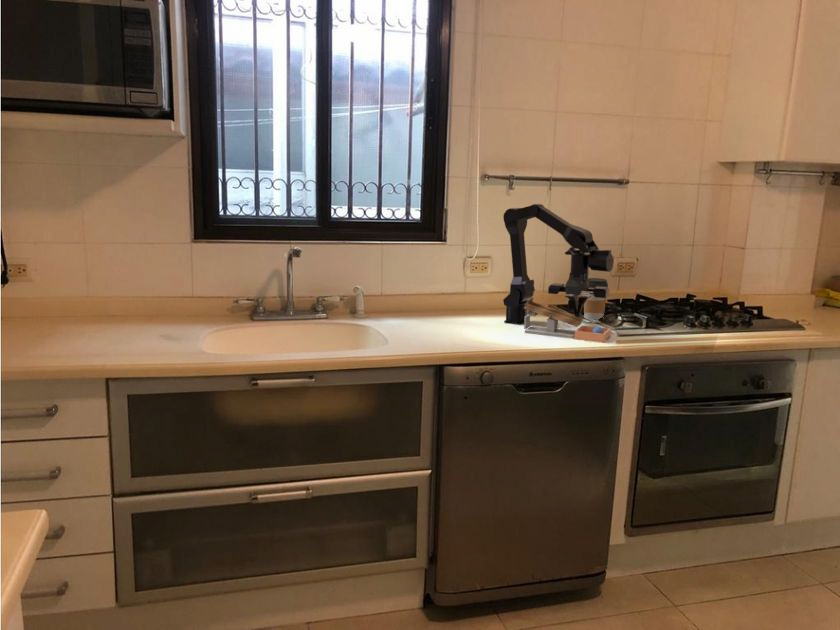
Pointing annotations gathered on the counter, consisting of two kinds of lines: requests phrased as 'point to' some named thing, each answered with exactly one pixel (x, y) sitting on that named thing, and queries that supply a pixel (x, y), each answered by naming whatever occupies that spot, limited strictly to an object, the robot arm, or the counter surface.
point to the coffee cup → (595, 300)
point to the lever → (551, 313)
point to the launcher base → (548, 329)
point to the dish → (592, 334)
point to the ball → (598, 330)
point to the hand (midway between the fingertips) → (577, 316)
